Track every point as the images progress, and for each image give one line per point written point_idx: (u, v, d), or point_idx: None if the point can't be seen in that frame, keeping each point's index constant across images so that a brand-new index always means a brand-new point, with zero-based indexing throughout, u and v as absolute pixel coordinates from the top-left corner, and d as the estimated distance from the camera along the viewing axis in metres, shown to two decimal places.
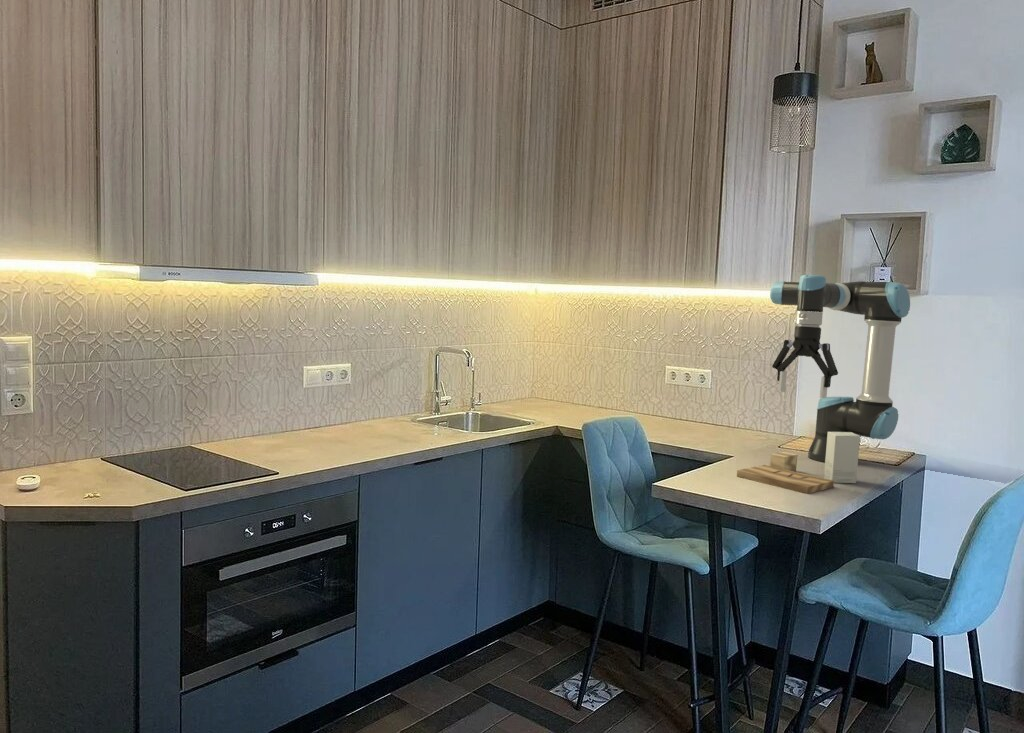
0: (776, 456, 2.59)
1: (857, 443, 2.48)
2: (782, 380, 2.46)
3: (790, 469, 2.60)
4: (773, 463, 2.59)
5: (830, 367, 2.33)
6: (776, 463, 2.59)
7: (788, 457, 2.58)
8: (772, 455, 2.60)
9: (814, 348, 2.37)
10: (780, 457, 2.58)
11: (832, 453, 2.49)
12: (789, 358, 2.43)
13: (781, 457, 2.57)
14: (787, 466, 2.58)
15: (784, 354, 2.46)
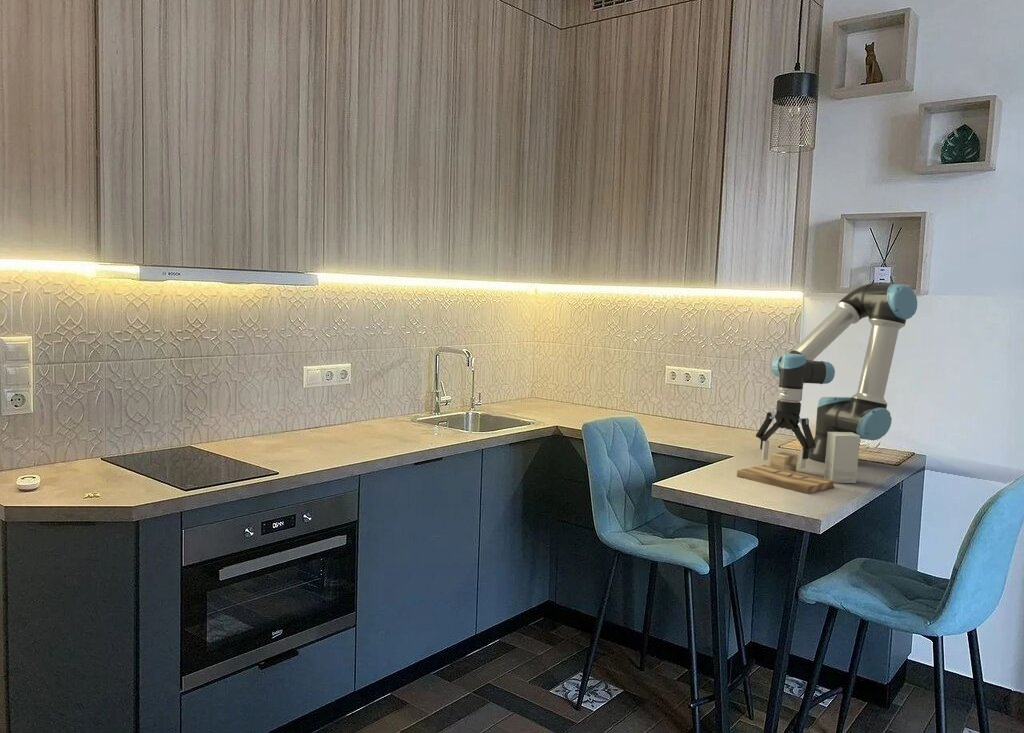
0: (776, 456, 2.59)
1: (857, 443, 2.48)
2: (765, 449, 2.65)
3: (790, 469, 2.60)
4: (773, 463, 2.59)
5: (808, 441, 2.53)
6: (776, 463, 2.59)
7: (788, 457, 2.58)
8: (772, 455, 2.60)
9: (794, 422, 2.57)
10: (780, 457, 2.58)
11: (832, 453, 2.49)
12: (771, 429, 2.63)
13: (781, 457, 2.57)
14: (787, 466, 2.58)
15: (767, 425, 2.65)
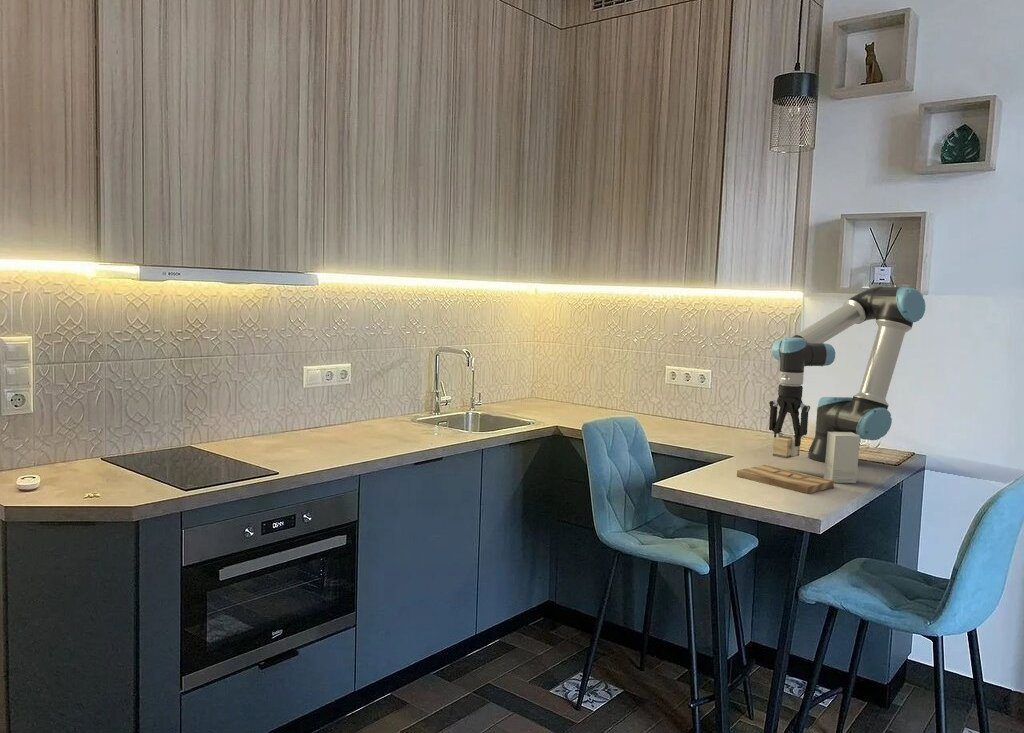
0: (778, 440, 2.58)
1: (857, 443, 2.48)
2: None
3: None
4: (776, 446, 2.59)
5: (802, 428, 2.55)
6: (779, 446, 2.58)
7: (791, 440, 2.57)
8: (774, 439, 2.59)
9: (795, 405, 2.56)
10: (783, 441, 2.57)
11: (832, 453, 2.49)
12: (779, 418, 2.61)
13: (784, 441, 2.57)
14: (790, 449, 2.58)
15: (774, 414, 2.63)
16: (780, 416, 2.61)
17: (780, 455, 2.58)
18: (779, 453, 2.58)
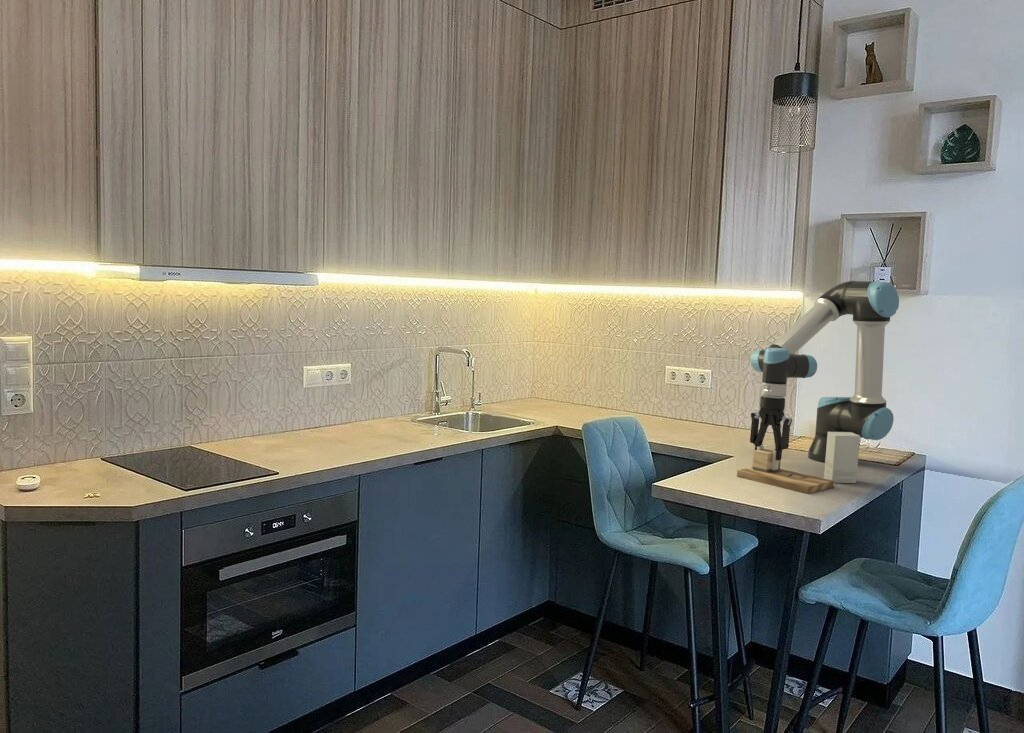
0: (759, 453, 2.51)
1: (857, 443, 2.48)
2: None
3: None
4: (756, 459, 2.52)
5: (783, 441, 2.48)
6: (759, 459, 2.51)
7: (771, 454, 2.50)
8: (755, 451, 2.52)
9: (777, 418, 2.49)
10: (763, 454, 2.50)
11: (832, 453, 2.49)
12: (761, 430, 2.54)
13: (764, 454, 2.49)
14: (770, 463, 2.50)
15: (756, 426, 2.56)
16: (761, 428, 2.53)
17: (760, 468, 2.51)
18: (759, 466, 2.51)
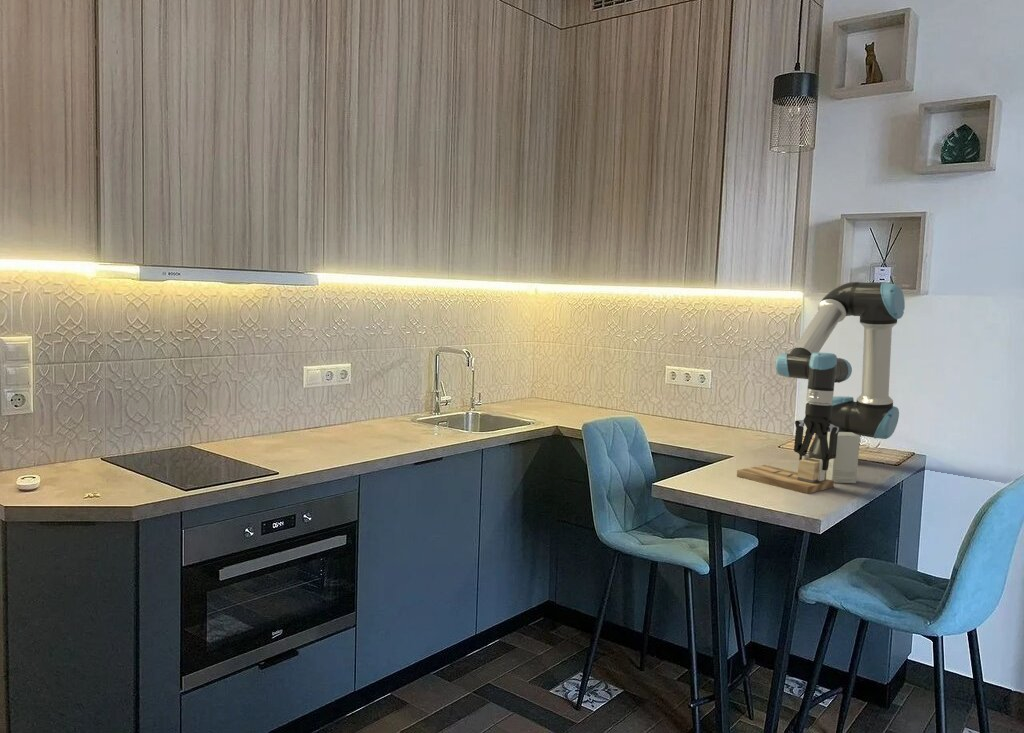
0: (805, 462, 2.39)
1: (857, 443, 2.48)
2: None
3: None
4: (801, 469, 2.40)
5: (830, 451, 2.36)
6: (805, 469, 2.39)
7: (818, 464, 2.38)
8: (800, 461, 2.40)
9: (824, 426, 2.38)
10: (809, 463, 2.38)
11: None
12: (806, 439, 2.42)
13: (810, 463, 2.38)
14: (817, 473, 2.39)
15: (800, 435, 2.44)
16: (807, 437, 2.42)
17: (806, 479, 2.39)
18: (805, 477, 2.39)
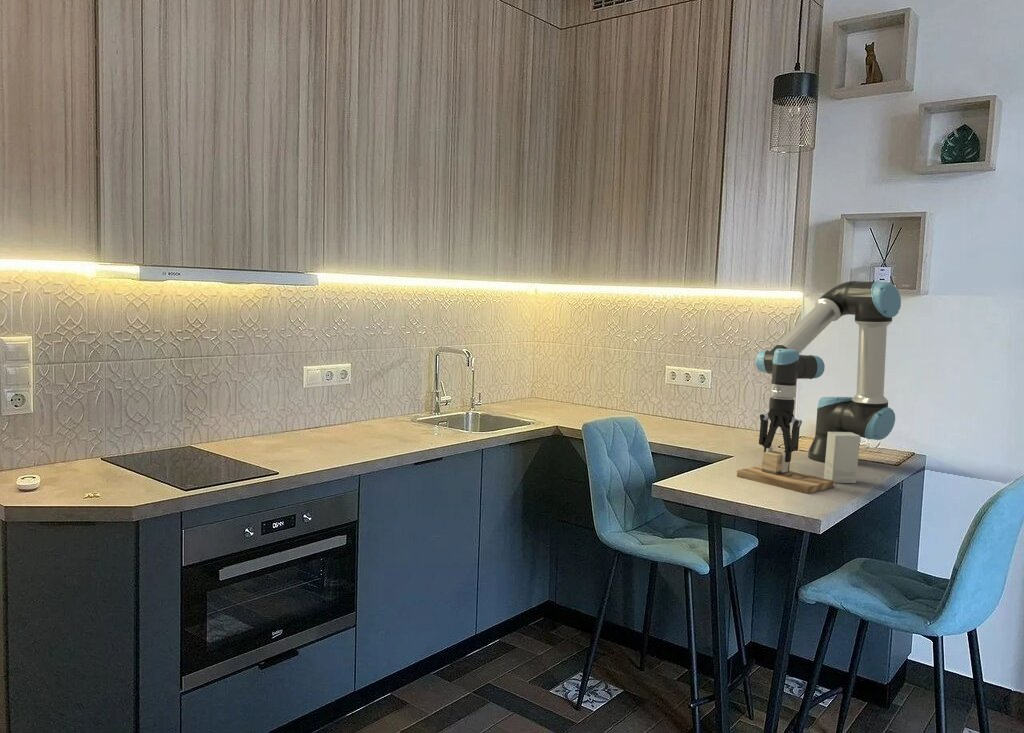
0: (768, 454, 2.48)
1: (857, 443, 2.48)
2: None
3: None
4: (765, 461, 2.49)
5: (793, 443, 2.45)
6: (768, 461, 2.48)
7: (781, 456, 2.48)
8: (764, 453, 2.49)
9: (786, 419, 2.47)
10: (772, 455, 2.47)
11: (832, 453, 2.49)
12: (770, 432, 2.51)
13: (773, 455, 2.47)
14: (780, 465, 2.48)
15: (765, 428, 2.54)
16: (770, 430, 2.51)
17: (769, 470, 2.48)
18: (768, 468, 2.48)
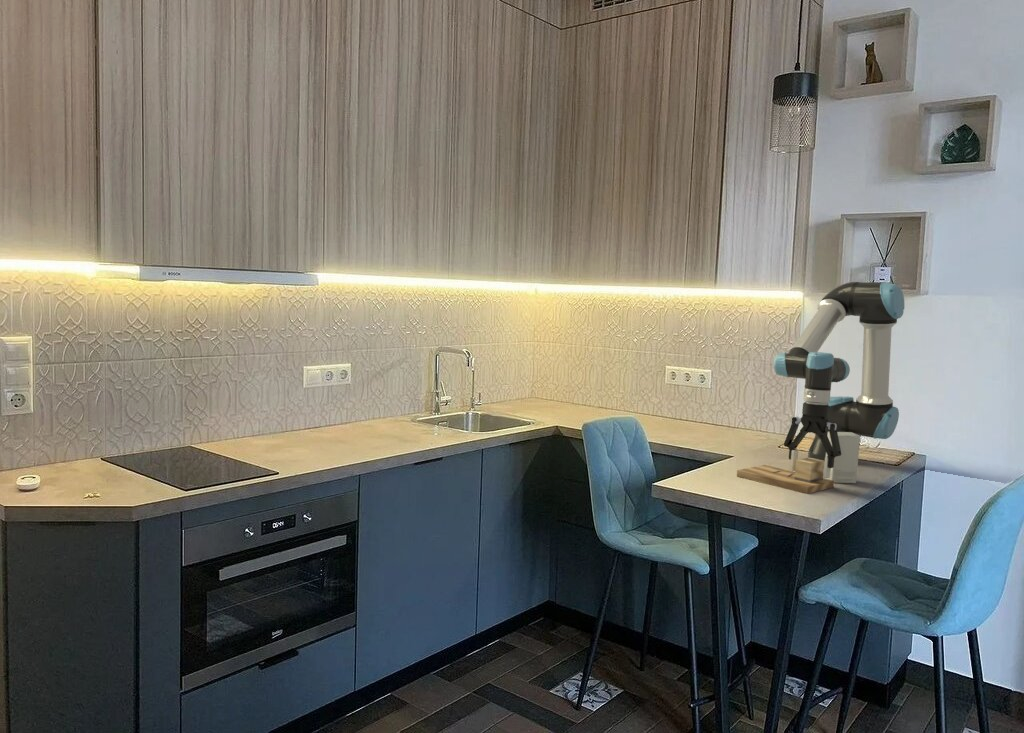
0: (802, 462, 2.40)
1: (857, 443, 2.48)
2: (794, 458, 2.46)
3: (817, 476, 2.41)
4: (799, 469, 2.41)
5: (834, 448, 2.35)
6: (802, 469, 2.40)
7: (815, 463, 2.39)
8: (797, 461, 2.41)
9: (822, 426, 2.38)
10: (806, 463, 2.39)
11: None
12: (799, 436, 2.44)
13: (807, 463, 2.38)
14: (814, 473, 2.39)
15: (794, 431, 2.46)
16: (800, 434, 2.43)
17: (803, 479, 2.40)
18: (802, 477, 2.40)
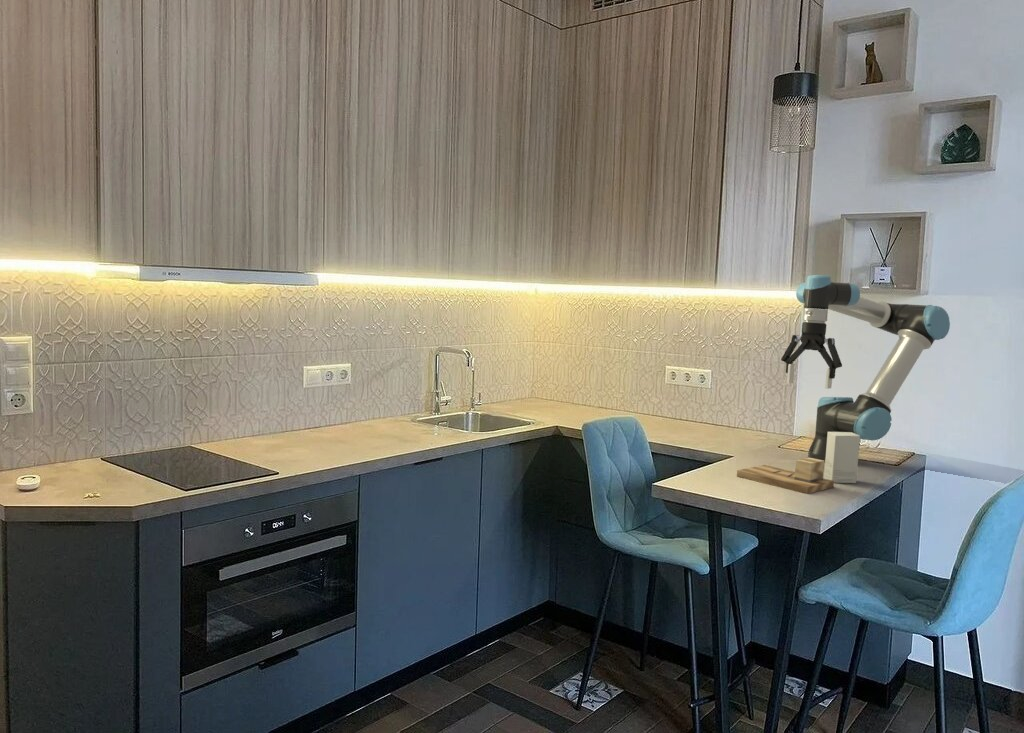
0: (802, 462, 2.40)
1: (857, 443, 2.48)
2: (790, 372, 2.66)
3: (817, 476, 2.41)
4: (799, 469, 2.41)
5: (835, 360, 2.54)
6: (802, 469, 2.40)
7: (815, 463, 2.39)
8: (797, 461, 2.41)
9: (820, 342, 2.58)
10: (806, 463, 2.39)
11: (832, 453, 2.49)
12: (797, 352, 2.64)
13: (807, 463, 2.38)
14: (814, 473, 2.39)
15: (792, 348, 2.66)
16: (798, 350, 2.64)
17: (803, 479, 2.40)
18: (802, 477, 2.40)
